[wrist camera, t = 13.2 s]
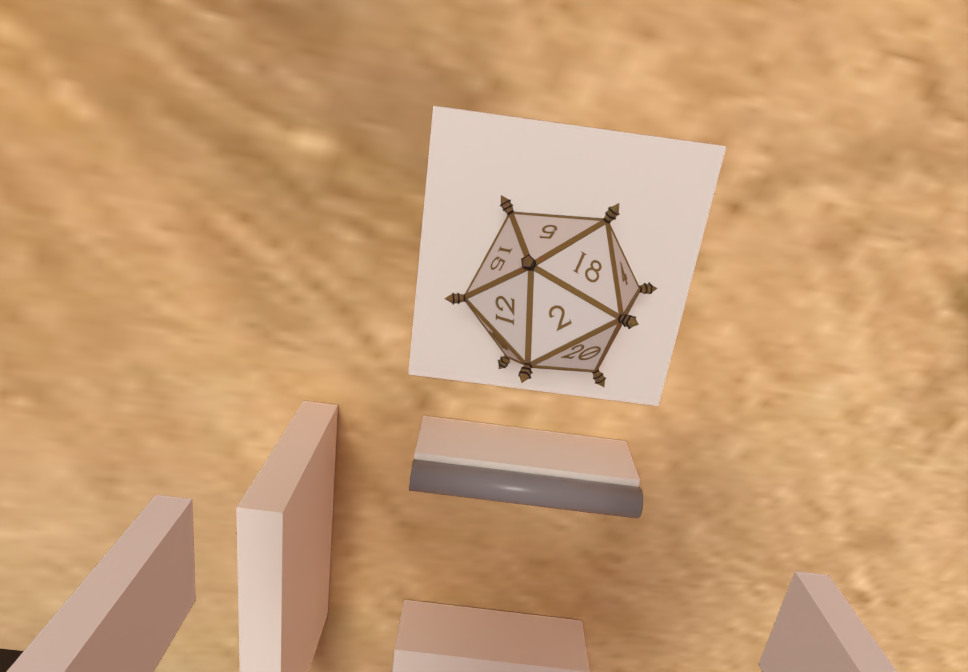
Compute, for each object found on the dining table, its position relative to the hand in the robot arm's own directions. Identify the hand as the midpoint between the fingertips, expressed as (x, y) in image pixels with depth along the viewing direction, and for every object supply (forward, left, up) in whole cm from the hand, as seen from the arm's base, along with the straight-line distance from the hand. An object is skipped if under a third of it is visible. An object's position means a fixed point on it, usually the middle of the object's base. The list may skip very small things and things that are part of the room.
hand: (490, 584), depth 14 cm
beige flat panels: (-16, +1, -22) cm, 27 cm away
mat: (+2, -3, -22) cm, 22 cm away
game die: (+2, -2, -21) cm, 21 cm away
